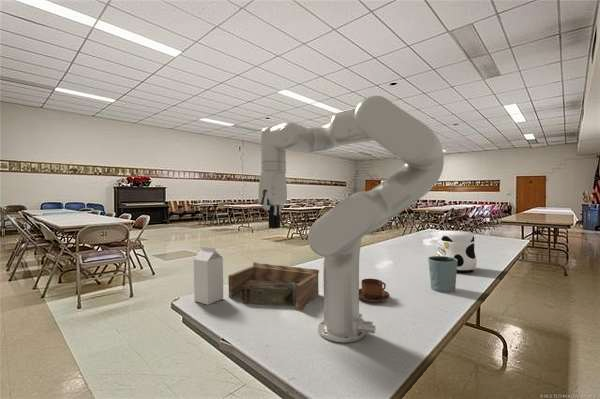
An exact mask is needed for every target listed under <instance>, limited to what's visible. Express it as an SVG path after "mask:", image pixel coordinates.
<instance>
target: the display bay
mask: <svg viewBox="0 0 600 399" xmlns="http://www.w3.org/2000/svg"><path fill="white" fill-rule="evenodd" d="M252 264H253V265H251V266H248V267H246V268H243V269H241V270H238V271H236V272H233V273H231V274H228V277H227V278H228V298H234V297H236V296H238V295H241V287H242V286H243V285H244V284H245V283H247V282H248V280H255V281H272V282H286V283H297V285H296V301H295V310H297V311H301V310H302V309H304V308H305V307H306V306H307V305H308V304H309V303H310V302H312V301H313V300H315V299H316V297H318V296H319V292H320V290H319V273H320V270H319V269H318V268H316V269H314V268H307V267H300V266H292V265H291V266H288V265H281V264H271V263H262V262H255V261H254V262H253V263H252Z"/></svg>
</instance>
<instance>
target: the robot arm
mask: <svg viewBox="0 0 600 399" xmlns="http://www.w3.org/2000/svg"><path fill="white" fill-rule="evenodd" d="M373 141H374V142H375V143H377V144H379V145H380V146H381V147H382V148H384V149H385V151H388V152H389V153H390V154H391V155H393V156H394V157H395V158H397V159H399V160H400V161H401V162H403V163H404V165H403V166H402V167H401V168H400V169H399V170H398V171H396V172H394V173H392V174H391V175H390V176H389V177H387V178H386V179H385V180H384V181H382V182H381V183H379V184H378V185H377V186H375V187H373V188H372V189H371V190H368V191H365V190H364V191H358V192H357V191H356V192H354V193H352V194H350V195H348V196H346V197H345V198H343V199H342V200H341V201H339V202H338V203H337V204H336V205H334V206H333V207H331V208H330V209H329V210H328V211H326V212H325V213H324V214H323V215H321V216H320V217H319V218H318V219H316V220H315V221H314V222H313V223H312V225H311V226H310V228H309V231H308V233H307V241H308V245H309V247H310V249H311V250H312V251H313V252H314V253H315V254H317V255H318V256H321V257H324V258H323V320H322V321H321V322H320V323H319V324H318V327H317V330H318V333H319V335H321V337H322V338H324V339H326V340H328V341H331V342H336V343H353V342H357V341H360V340H361V339H363V338H364V337H365V335H366V332H367V333H370V334H376V329H377V328H376V325H374V322H373V321H369V320H364V319H363V313H360V299H359V289H360V255H361V254H360V253H361V244H362V238H363V237H365V236H366V235H368V234H370V233H371V232H374V231H376V230H378V229H380V228H382V227H383V226H384V225H386V224H387V223H388V222H389V221H391V220H392V219H393V218H395V217H396V216H397V215H399V214H401V213H402V212H403V211H405V210H406V209H408V208H409V207H410V206H412V205H414V204H415V203H416V202H417V201H419V200H420V199H421V198H423V197H424V196H425V195H426V194H428V193H429V192H430V191H431V190H432V189H433V188H434V187H435V186H436V185H437V183H438V182H439V180H440V178H441V176H442V173H443V169H444V164H445V160H444V159H445V158H444V151H443V146H442V143H441V141H440V139H439V138H438V136H437V135H436V133H435V132H434V131H433V130H432V129H431V127H429V126H428V125H426V124H425V123H423V122H422V121H420V120H419V119H417V118H416V117H414V116H413V115H411V114H410V113H408V112H407V111H405V110H404V109H402V108H401V107H400V106H398V105H396V104H395V103H393V102H392V101H391V100H390V99H388V98H386V97H384V96H382V95H371V96H368V97H366V98H364V99H363V100H361V101H360V102H359V103H358V105H357V106H356V109H350V110H345V111H340V112H336V113H335V114H333V115H332V118H331V120H330V122H329V123H328V124H326V125H325V124H324V125H321V126H317V127H316V126H315V127H310V128H309V127H306V126H303V125H301V124H297V123H295V122H289V121H288V122H284V123H281V124H278V125H276V126H267V127H264V128H262V130H261V133H260V146H261V147H260V154H261V156H260V157H261V158H260V160H261V164H260V165H261V172H260V175H259V179H258V180H259V183H258V204H259V205H260V206H262V208H263V210H265V211H266V213H267V216H268V228H269V229H280V228H281V215H282V209H284V208H285V205H286V203H287V200H288V190H287V189H288V187H287V177H286V173H287V159H286V158H287V156H286V155H287V154H286V152H287V151H286V150H291V151H294V152H295V151H296V152H300V153H313V152H320V151H321V152H322V151H328V150H331V149H332V150H333V149H334V148H338V147H340V146H345V145H351V144H358V143H366V142H373Z"/></svg>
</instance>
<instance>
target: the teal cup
mask: <svg viewBox="0 0 600 399" xmlns="http://www.w3.org/2000/svg"><path fill="white" fill-rule="evenodd" d="M427 259H428V261H427V262H428V266H429V267H428V268H429V278H430V279H429V281H430V289H431V290H432V291H433V292H437V293H441V294H442V293H443V294H453V293H455V292H456V287H457V286H456V285H457V284H456V283H457V262H458V260H457V259H455V258H452V257H446V256H436V255H433V256H429V257H428V258H427Z"/></svg>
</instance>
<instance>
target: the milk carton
mask: <svg viewBox="0 0 600 399" xmlns="http://www.w3.org/2000/svg"><path fill="white" fill-rule="evenodd" d="M200 247H201V248H200V250H198V253H197V254H196V255H195V256H194V257H193V290H194V291H193V294H194V295H193V297H194V299H193V300H194V302H195V303H196V302H197V303H200V304H204V305H207V306H208V305H211V304H213V303H216V302H218V301H220V300H222V299H224V258H223V256H222V255H220V253H218V251H216V247H213V246H205V245H202V246H200Z"/></svg>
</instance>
